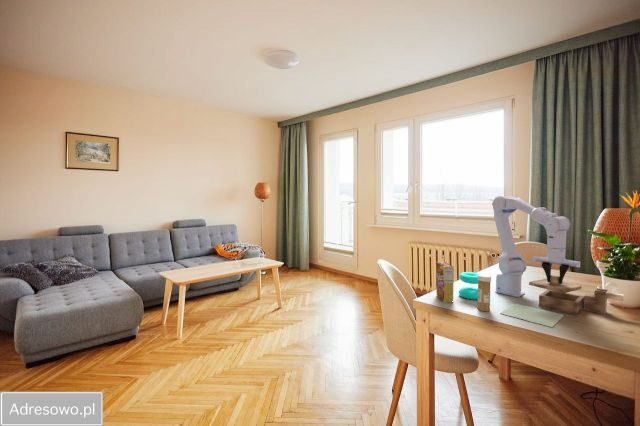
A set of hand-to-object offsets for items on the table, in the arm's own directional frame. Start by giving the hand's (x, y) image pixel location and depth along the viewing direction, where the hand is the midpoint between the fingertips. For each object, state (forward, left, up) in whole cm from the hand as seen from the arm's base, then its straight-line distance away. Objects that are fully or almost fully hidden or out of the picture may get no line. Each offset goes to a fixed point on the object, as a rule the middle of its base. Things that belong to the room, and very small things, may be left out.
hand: (554, 282), depth 121 cm
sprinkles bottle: (-18, -21, -11) cm, 29 cm away
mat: (-4, -13, -10) cm, 17 cm away
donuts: (-28, -9, -11) cm, 31 cm away
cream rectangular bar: (+14, +9, -4) cm, 18 cm away
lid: (0, 0, -2) cm, 2 cm away
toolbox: (+1, +5, -10) cm, 12 cm away
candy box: (-34, -21, -11) cm, 41 cm away
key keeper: (+11, +9, -10) cm, 18 cm away
